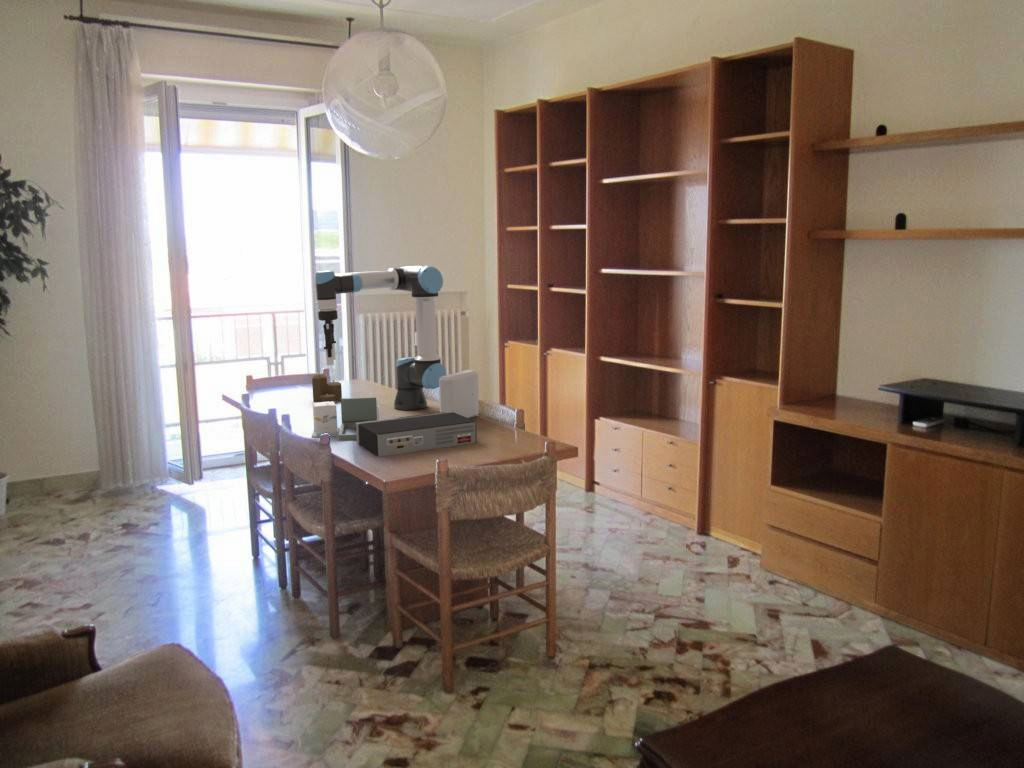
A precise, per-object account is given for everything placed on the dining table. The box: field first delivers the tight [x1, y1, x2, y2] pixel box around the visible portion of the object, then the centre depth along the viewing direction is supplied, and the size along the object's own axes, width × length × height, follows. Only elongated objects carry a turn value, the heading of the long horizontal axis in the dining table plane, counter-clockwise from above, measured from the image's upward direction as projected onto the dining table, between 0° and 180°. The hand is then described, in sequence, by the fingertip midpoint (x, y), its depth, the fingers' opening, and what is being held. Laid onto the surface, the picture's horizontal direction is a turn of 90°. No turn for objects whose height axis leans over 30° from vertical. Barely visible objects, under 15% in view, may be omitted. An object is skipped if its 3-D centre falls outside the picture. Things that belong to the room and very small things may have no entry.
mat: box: [311, 427, 340, 438], centre depth 334 cm, size 10×12×1 cm
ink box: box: [312, 401, 339, 435], centre depth 333 cm, size 9×8×12 cm
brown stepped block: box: [311, 370, 343, 404], centre depth 399 cm, size 14×14×15 cm
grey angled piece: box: [337, 396, 380, 441], centre depth 334 cm, size 16×24×12 cm, turn 8°
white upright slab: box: [438, 369, 480, 419], centre depth 355 cm, size 21×8×20 cm, turn 149°
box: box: [355, 411, 477, 458], centre depth 317 cm, size 40×25×9 cm, turn 119°
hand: (331, 362), depth 337 cm, fingers open, 13 cm apart
